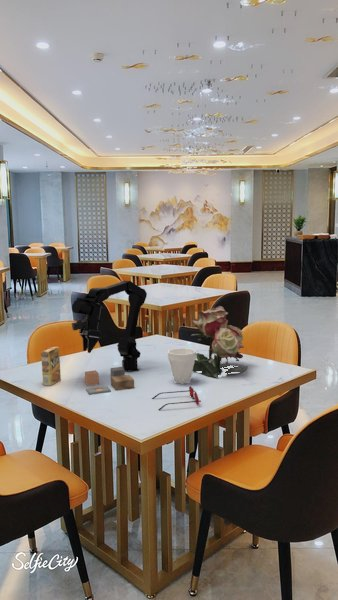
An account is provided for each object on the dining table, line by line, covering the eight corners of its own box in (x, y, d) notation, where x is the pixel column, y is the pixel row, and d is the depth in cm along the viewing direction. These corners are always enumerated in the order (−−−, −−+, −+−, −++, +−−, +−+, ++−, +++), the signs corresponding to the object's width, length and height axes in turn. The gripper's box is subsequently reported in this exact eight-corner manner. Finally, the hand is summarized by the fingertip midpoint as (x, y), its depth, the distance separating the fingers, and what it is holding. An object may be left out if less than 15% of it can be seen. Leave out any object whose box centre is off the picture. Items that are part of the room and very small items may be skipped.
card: (107, 387, 218) (107, 385, 217) (110, 391, 212) (110, 389, 212) (86, 390, 214) (86, 388, 214) (89, 394, 209) (89, 392, 209)
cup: (181, 376, 233) (181, 346, 231) (202, 381, 225) (202, 350, 223) (162, 381, 225) (161, 351, 223) (182, 387, 216) (182, 356, 214)
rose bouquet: (224, 381, 224) (224, 313, 220) (179, 368, 246) (178, 306, 242) (261, 370, 241) (261, 307, 237) (215, 359, 263) (215, 301, 259)
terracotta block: (96, 381, 227) (95, 370, 227) (98, 384, 223) (98, 373, 222) (84, 382, 226) (84, 371, 225) (87, 385, 221) (87, 374, 220)
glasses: (201, 407, 193) (201, 395, 192) (157, 411, 189) (157, 398, 189) (191, 396, 206) (191, 384, 206) (151, 399, 203) (151, 387, 202)
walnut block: (129, 383, 224) (128, 374, 224) (134, 388, 217) (134, 379, 216) (111, 385, 221) (110, 376, 221) (115, 391, 214) (115, 381, 213)
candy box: (51, 386, 221) (49, 351, 219) (42, 385, 222) (40, 350, 220) (61, 380, 229) (59, 346, 227) (52, 379, 231) (51, 346, 228)
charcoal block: (121, 377, 233) (121, 366, 232) (124, 380, 228) (124, 369, 227) (110, 378, 231) (110, 368, 230) (113, 381, 226) (113, 370, 226)
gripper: (71, 312, 231) (64, 347, 230) (79, 313, 213) (72, 350, 212) (95, 317, 235) (88, 351, 234) (105, 318, 217) (98, 354, 216)
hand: (86, 351), depth 224 cm, fingers open, 9 cm apart
